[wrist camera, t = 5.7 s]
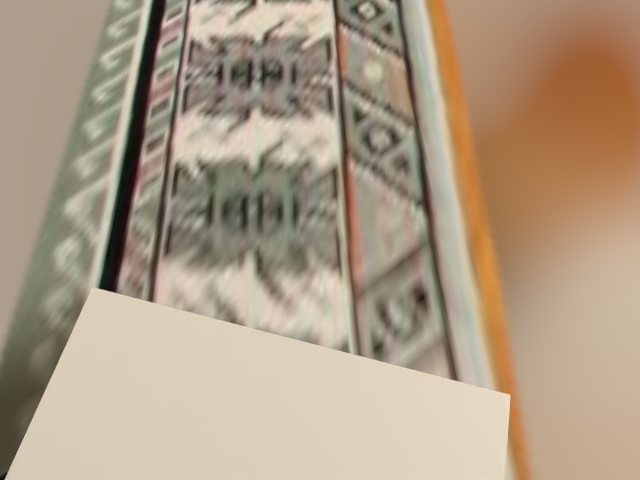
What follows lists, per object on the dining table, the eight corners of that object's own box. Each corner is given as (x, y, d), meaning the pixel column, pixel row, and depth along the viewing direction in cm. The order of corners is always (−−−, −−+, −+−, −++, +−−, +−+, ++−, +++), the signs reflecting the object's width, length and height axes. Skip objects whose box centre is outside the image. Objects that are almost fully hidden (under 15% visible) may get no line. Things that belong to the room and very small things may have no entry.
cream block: (362, 498, 13) (449, 1274, 2) (243, 460, 14) (-178, 878, 3) (385, 366, 15) (510, 394, 4) (276, 338, 16) (92, 286, 4)
